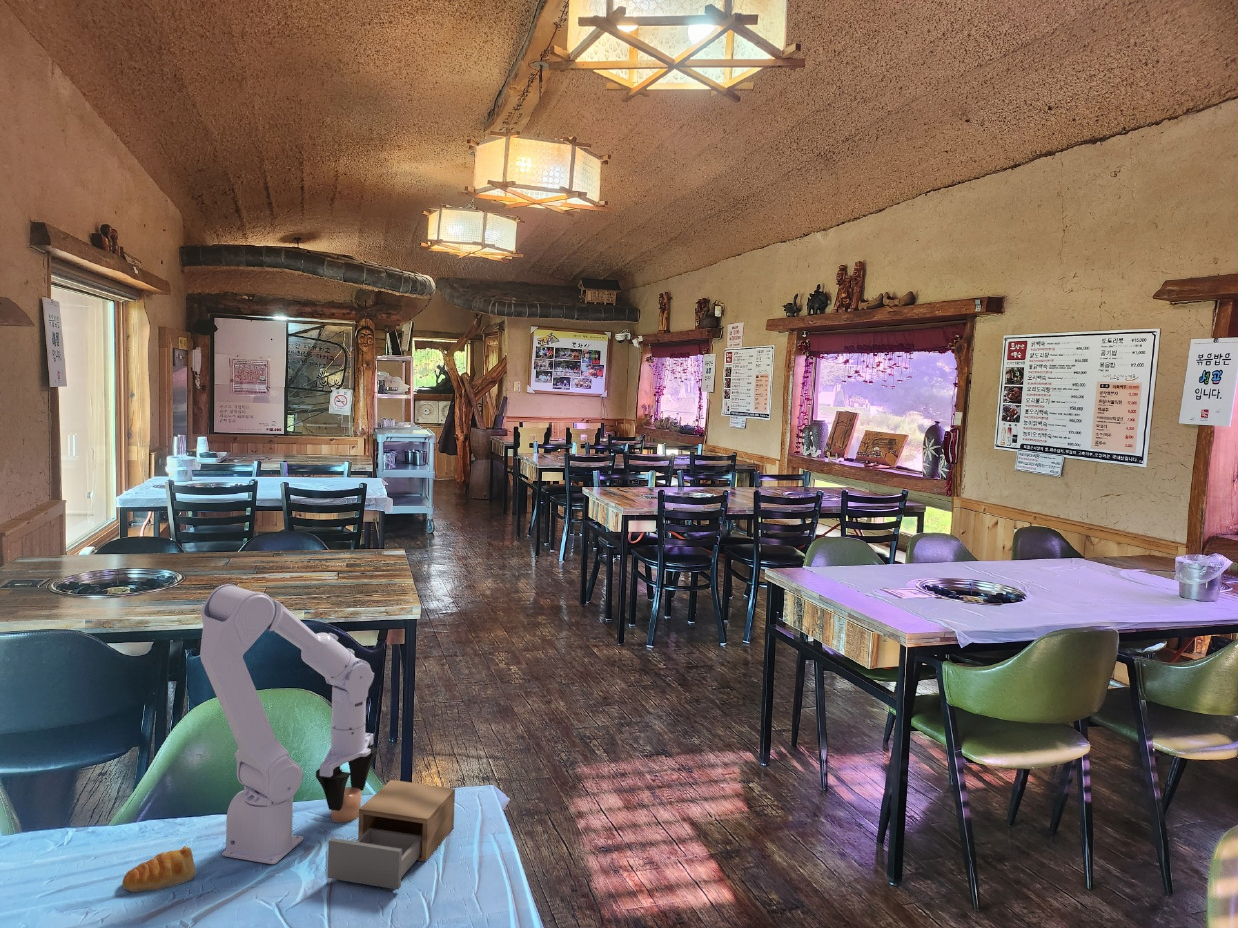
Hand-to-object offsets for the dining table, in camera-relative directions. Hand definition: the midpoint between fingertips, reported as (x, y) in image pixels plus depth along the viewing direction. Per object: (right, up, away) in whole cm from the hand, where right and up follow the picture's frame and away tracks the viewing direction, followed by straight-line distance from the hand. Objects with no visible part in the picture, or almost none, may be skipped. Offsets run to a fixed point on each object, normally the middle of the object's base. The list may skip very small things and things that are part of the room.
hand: (346, 798), depth 140 cm
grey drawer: (+11, -3, -16) cm, 20 cm away
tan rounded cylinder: (0, -3, 0) cm, 3 cm away
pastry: (-20, -3, -21) cm, 29 cm away
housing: (+13, -4, -7) cm, 15 cm away
